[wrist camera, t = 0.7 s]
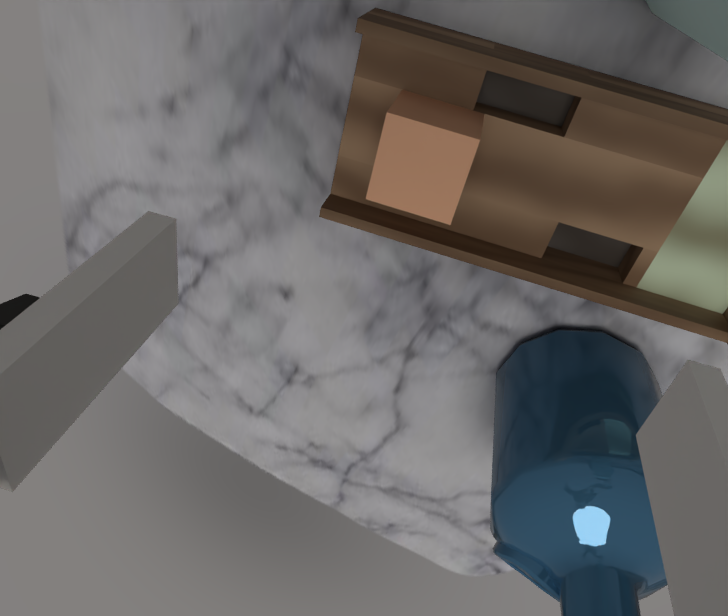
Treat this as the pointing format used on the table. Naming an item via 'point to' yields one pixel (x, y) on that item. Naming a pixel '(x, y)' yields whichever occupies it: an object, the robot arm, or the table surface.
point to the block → (424, 156)
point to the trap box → (553, 173)
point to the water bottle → (697, 20)
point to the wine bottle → (576, 472)
